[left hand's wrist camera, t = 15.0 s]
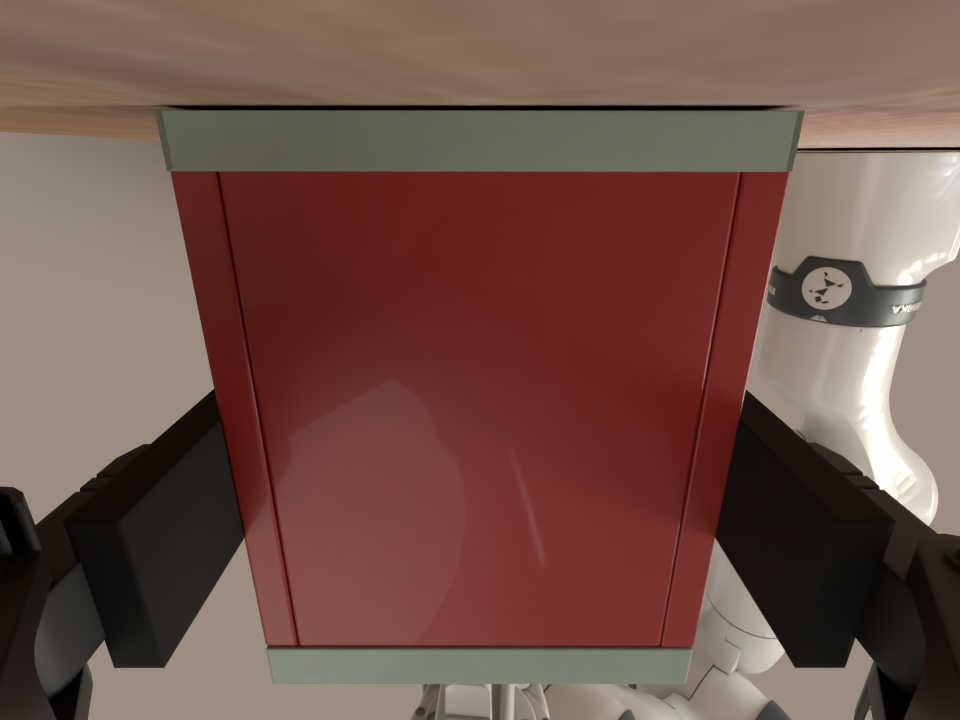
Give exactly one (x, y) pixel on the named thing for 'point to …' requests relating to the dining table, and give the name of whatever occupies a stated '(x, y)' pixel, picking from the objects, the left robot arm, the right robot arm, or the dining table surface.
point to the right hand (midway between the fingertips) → (480, 577)
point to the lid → (478, 664)
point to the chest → (480, 359)
